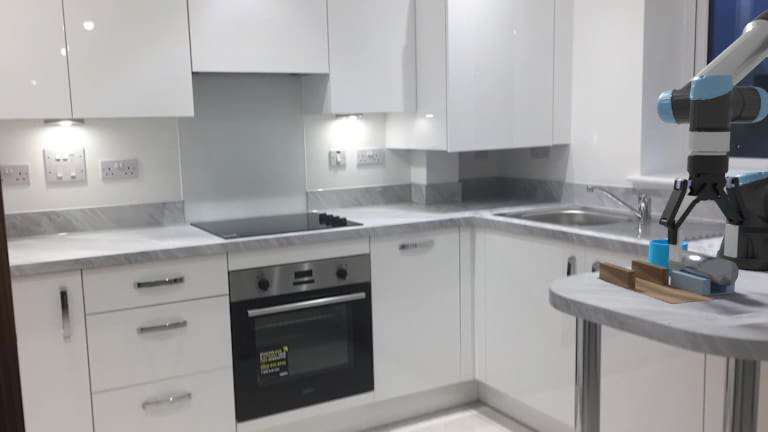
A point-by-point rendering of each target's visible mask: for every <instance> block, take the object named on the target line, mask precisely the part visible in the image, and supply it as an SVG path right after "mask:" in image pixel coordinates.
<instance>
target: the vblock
mask: <svg viewBox="0 0 768 432" xmlns="http://www.w3.org/2000/svg"><path fill="white" fill-rule="evenodd" d="M669 283H670V284H669V285H671V286H674V287H677V288H680V289H683V290H687V291H690V292H693V293H696V294H699V295H703V296H706V297H709V296H717V295H726V294H727V295H729V294H735V288H736V287H735V286H736V281H735V282H734V283H733V284H732V285H730V286H723V285H720V284H716V283H712V282H711V279H707V278H704V277H700V276H696V275H693V274H689V273H686V272H682V271H671V275H670V278H669Z"/></svg>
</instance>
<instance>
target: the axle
mask: <svg viewBox="0 0 768 432" xmlns="http://www.w3.org/2000/svg"><path fill="white" fill-rule="evenodd" d="M668 264H669V267H670V269H671V270H672V271H682V272H686V273H689V274H693V275H696V276H700V277H704V278H707V279H711V282H712V283H716V284H720V285H723V286H730V285H732V284H733V283H734V282H735V283H736V281H737V280H738V278H739V273H740V272H739V271H740V270H739V268H738V266H737V265H736V263H734V262H733V261H729V260H725V259H720V258H716V256H712V255H707V254H704V253H698V252H694V251H690V250H688V251H686V250H682V262H676V261H672V260H668Z"/></svg>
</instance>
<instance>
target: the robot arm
mask: <svg viewBox="0 0 768 432" xmlns="http://www.w3.org/2000/svg"><path fill="white" fill-rule="evenodd" d="M766 58H768V8H767V9H766V10H764V11H763V12H761V13H760V14H758V15H756V17H755V18H753V19H752V20H751V21H749V23H747V24H746V26H745V27H744V28H743V30H742V33H741V35H740V36H739V37H738V38H737V39H735V40H734V41H733V43H731V44H730V45H729V46H728V47H726V49H724V50H723V51H722V52H721V53H720V54H719V55H717V56H716V57H715V58H714V59H713V60H711V62H710V63H708V64H707V65H706V66H705V67H703V69H702V70H700V71H699V72H698V73H697V74H696V75H694V76H693V77H692V78H691V79H690V80H689V81H688V82H687V83H685V84H684V85H683V86H681V88H678V89H676V88H673V89H669V90H665V91H663V92H661V94H660V96H659V97H658V99H657V102H656V112H657V115H658V118H659V119H660V120H661V121H662V122H663V123H666V124H676V125H682V124H683V125H687V124H689V127H688V131H689V132H688V140H687V141H688V144H687V145H688V146H687V151H688V152H690V154H688V156H687V162H686V163H687V164H686V172H688V178H687V179H686V178H678V177H677V178H675V179H674V182H673V183H674V184H673V189H672V191H671V194H670V197H669V198H668V200H667V203H666V205H665V207H664V209H663V211H662V214H661V216H660V218H659V221H658V224H659V225H660V226H663V227H664V228H667V237H666V238H667V239H666V240H667V242H668V244H670V249H669V260H672V261H676V262H682V241H683V239H684V238H683V235H684V233H683V232H684V229H682V228H680V227H682V224H683V223H684V222H685V220H686V219H687V218H688V216H689V215H690V214H691V212H692V211H693V209H694V208H695V207H696V205H697V204H699V203H701V201H703V202H704V201H714V203H716V205H717V206H718V208H719V210H720V211H721V213H723V216H724V217H725V226H724V227H725V229H724V234H723V237H722V240H721V243H720V245H719V246H720V247H719V250H717V252H716V255H715V257H716V258H720V259H725V260H729V261H733V262H734V263H736V265H737V266H738V269H742V270H751V271H752V270H756V271H758V270H759V271H768V170H766V171H765V170H764V171H751V172H743V173H742V172H741V173H740V172H739V173H733V174H732V175H729V176H726V174H728V173H729V166H730V165H729V163H730V156H729V155H728V154H727V153H728V152H730V148H731V147H730V144H731V124H743V125H745V124H749V125H750V124H754V123H757V122H760V121H762V120H763V119H765V118H766V117H767V115H768V92H767V91H766V90H765V89H764V88H762V87H758V86H753V85H737V84H738V83H739V82H740V81H742V80H743V79H744V78H745V77H746V76H747V75H748V74H749V73H751V72H752V71H753V70H754V69H755V68H756V67H757V66H758V65H759V64H761V62H763V61H764V60H765V59H766Z"/></svg>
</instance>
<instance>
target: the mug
mask: <svg viewBox="0 0 768 432" xmlns="http://www.w3.org/2000/svg"><path fill="white" fill-rule="evenodd" d="M688 245H689V243H688V242H686V241H684V240H682V250H686V251H689V250H688V249H689V246H688ZM669 249H670V244H668V242H667V239H666V238H665V239H664V238H662V239H652V240H649V242H648V261H647V262H648V263H652V264H655V265H659V266H662V267H666V268H669V276H671V271H672V270H671V269H670V267H669V264H668V260H669Z"/></svg>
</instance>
